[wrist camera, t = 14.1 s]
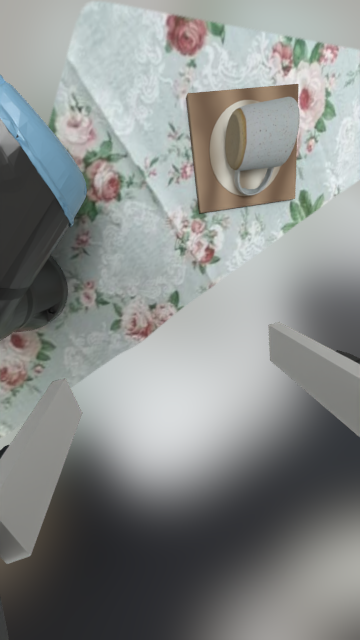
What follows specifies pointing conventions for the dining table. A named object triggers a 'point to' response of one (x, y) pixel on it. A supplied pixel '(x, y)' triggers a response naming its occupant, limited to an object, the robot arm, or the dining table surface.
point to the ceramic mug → (261, 138)
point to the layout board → (210, 155)
